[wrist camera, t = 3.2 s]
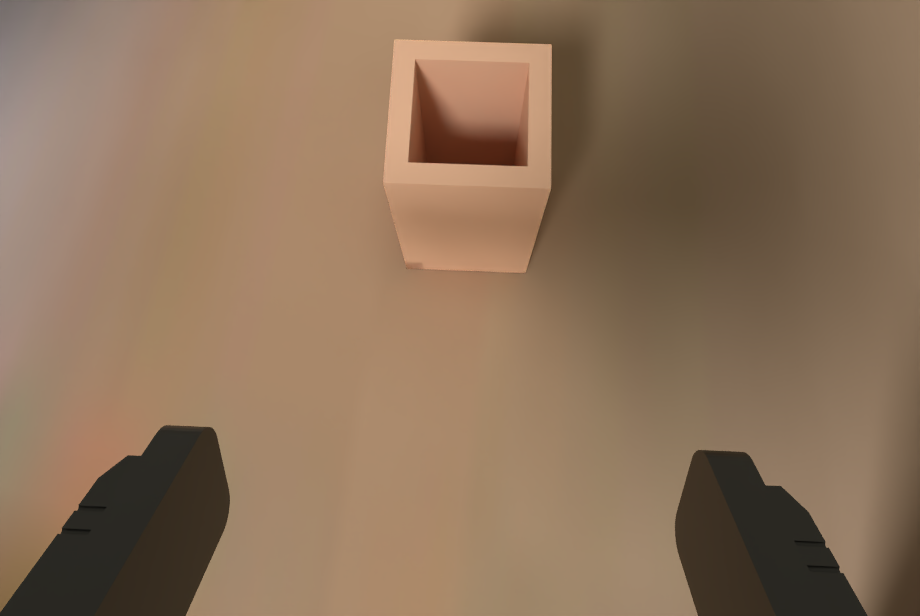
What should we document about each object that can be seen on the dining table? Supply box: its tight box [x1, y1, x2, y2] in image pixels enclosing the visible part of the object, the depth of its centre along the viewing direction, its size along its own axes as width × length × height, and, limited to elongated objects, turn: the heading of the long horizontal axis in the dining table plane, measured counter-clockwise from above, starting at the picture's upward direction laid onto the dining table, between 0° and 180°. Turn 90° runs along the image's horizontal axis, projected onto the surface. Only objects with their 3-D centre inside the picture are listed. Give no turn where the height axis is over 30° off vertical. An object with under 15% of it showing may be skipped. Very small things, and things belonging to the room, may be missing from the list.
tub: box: [383, 39, 552, 273], centre depth 23 cm, size 5×5×8 cm
